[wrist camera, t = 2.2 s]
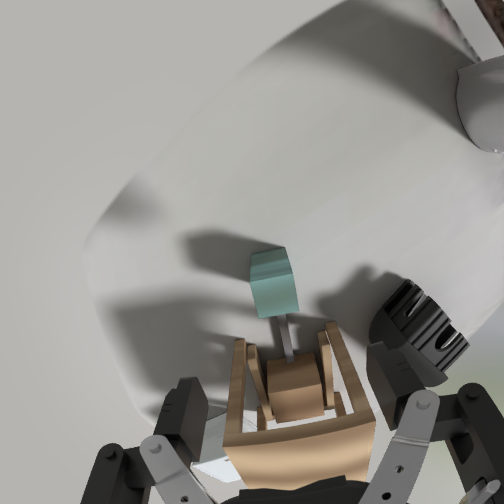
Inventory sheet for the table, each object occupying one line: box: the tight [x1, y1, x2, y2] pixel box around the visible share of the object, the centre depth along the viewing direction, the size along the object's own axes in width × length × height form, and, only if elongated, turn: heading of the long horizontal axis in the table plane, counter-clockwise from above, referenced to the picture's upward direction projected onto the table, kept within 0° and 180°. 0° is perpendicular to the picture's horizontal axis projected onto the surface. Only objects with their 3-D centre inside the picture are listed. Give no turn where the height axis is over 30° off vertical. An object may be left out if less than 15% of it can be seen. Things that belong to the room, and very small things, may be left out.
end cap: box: [369, 280, 470, 387], centre depth 24 cm, size 10×7×7 cm
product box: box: [192, 412, 257, 483], centre depth 30 cm, size 6×6×7 cm
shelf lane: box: [222, 321, 376, 490], centre depth 23 cm, size 12×10×13 cm
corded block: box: [250, 247, 324, 423], centre depth 25 cm, size 17×5×6 cm, turn 12°
